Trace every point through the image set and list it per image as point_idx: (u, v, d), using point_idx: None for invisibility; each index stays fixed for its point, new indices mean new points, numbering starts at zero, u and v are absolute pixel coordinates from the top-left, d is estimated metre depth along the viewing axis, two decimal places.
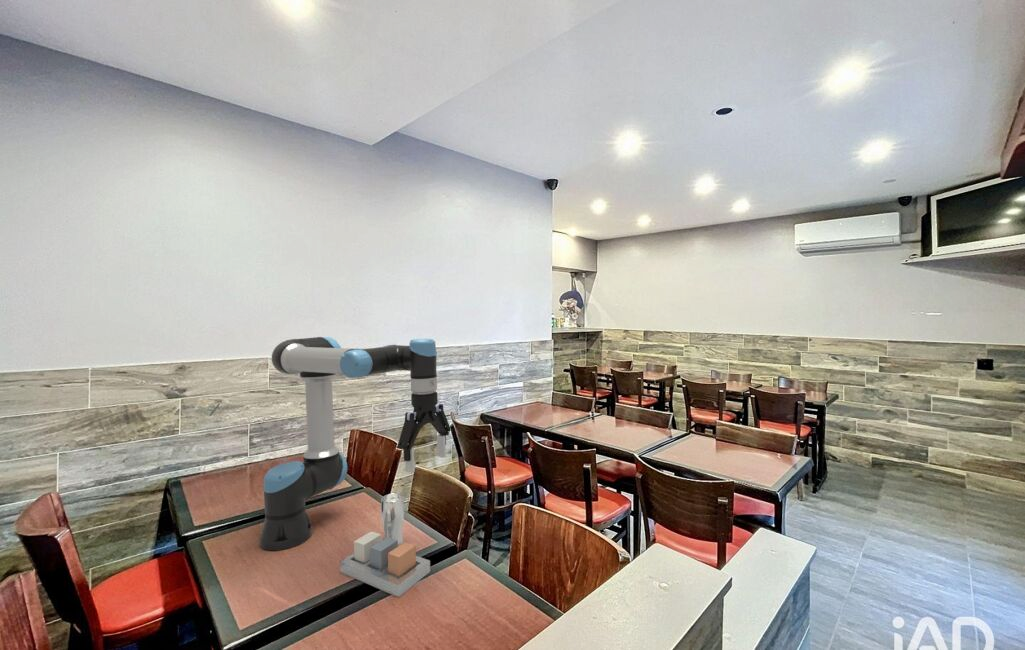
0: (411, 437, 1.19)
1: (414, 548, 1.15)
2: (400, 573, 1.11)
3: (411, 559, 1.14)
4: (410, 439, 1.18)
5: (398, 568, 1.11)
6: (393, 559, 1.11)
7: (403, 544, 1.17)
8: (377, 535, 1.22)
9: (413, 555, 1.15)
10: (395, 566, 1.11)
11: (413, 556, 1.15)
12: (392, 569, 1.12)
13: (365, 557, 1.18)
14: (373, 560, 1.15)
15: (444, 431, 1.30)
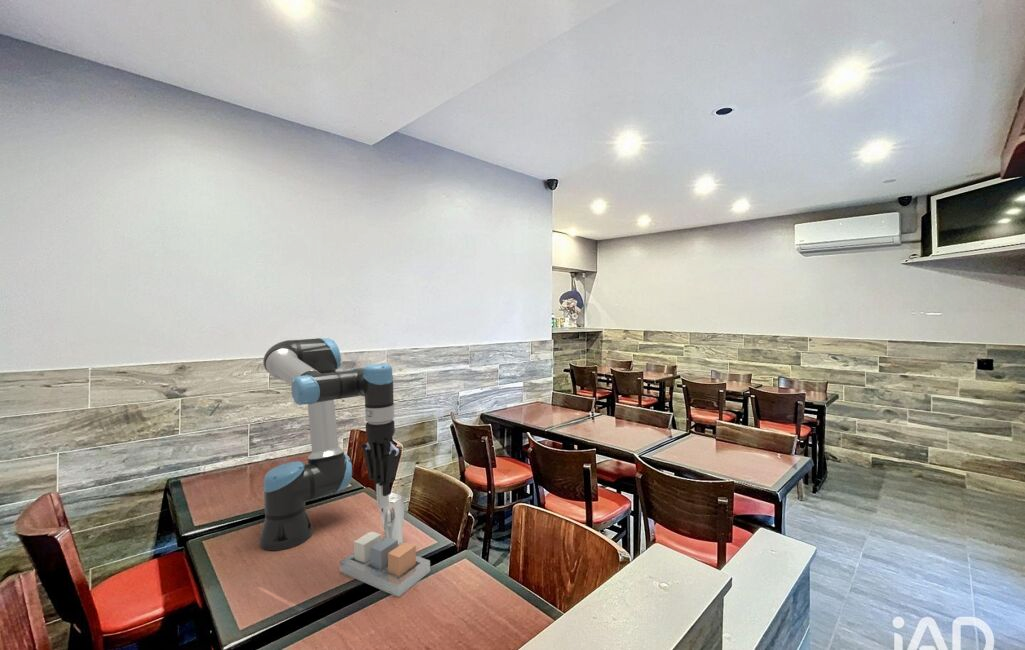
0: None
1: (414, 548, 1.15)
2: (400, 573, 1.11)
3: (411, 559, 1.14)
4: None
5: (398, 568, 1.11)
6: (393, 559, 1.11)
7: (403, 544, 1.17)
8: (377, 535, 1.22)
9: (413, 555, 1.15)
10: (395, 566, 1.11)
11: (413, 556, 1.15)
12: (392, 569, 1.12)
13: (365, 557, 1.18)
14: (373, 560, 1.15)
15: (382, 479, 1.15)
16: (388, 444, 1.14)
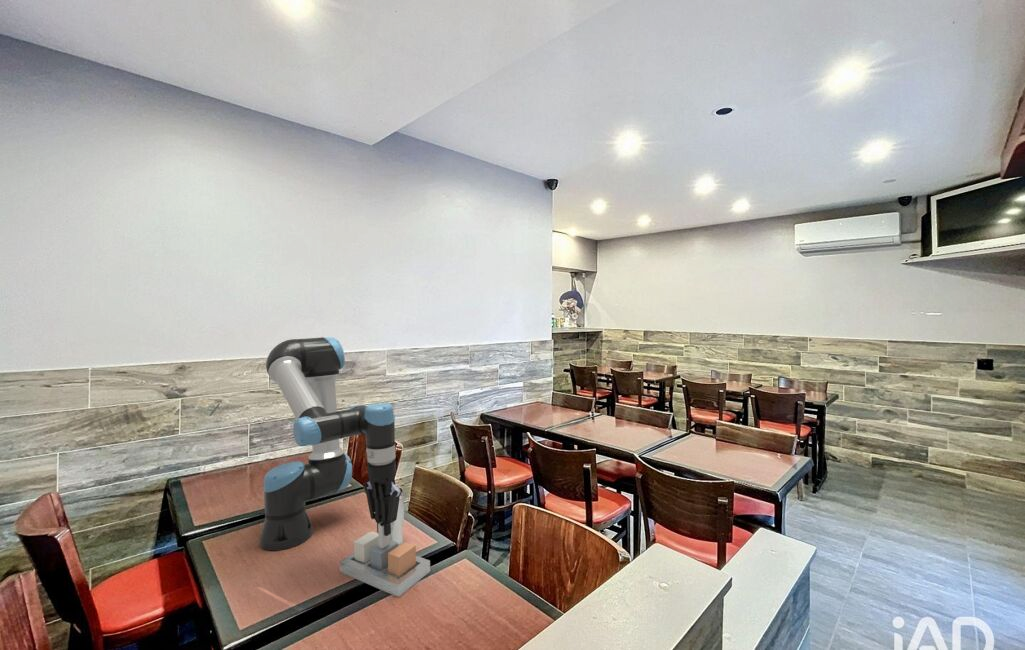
0: None
1: (414, 548, 1.15)
2: (400, 573, 1.11)
3: (411, 559, 1.14)
4: None
5: (398, 568, 1.11)
6: (393, 559, 1.11)
7: (403, 544, 1.17)
8: (377, 535, 1.22)
9: (413, 555, 1.15)
10: (395, 566, 1.11)
11: (413, 556, 1.15)
12: (392, 569, 1.12)
13: (365, 557, 1.18)
14: (373, 562, 1.15)
15: (383, 519, 1.15)
16: (389, 485, 1.14)
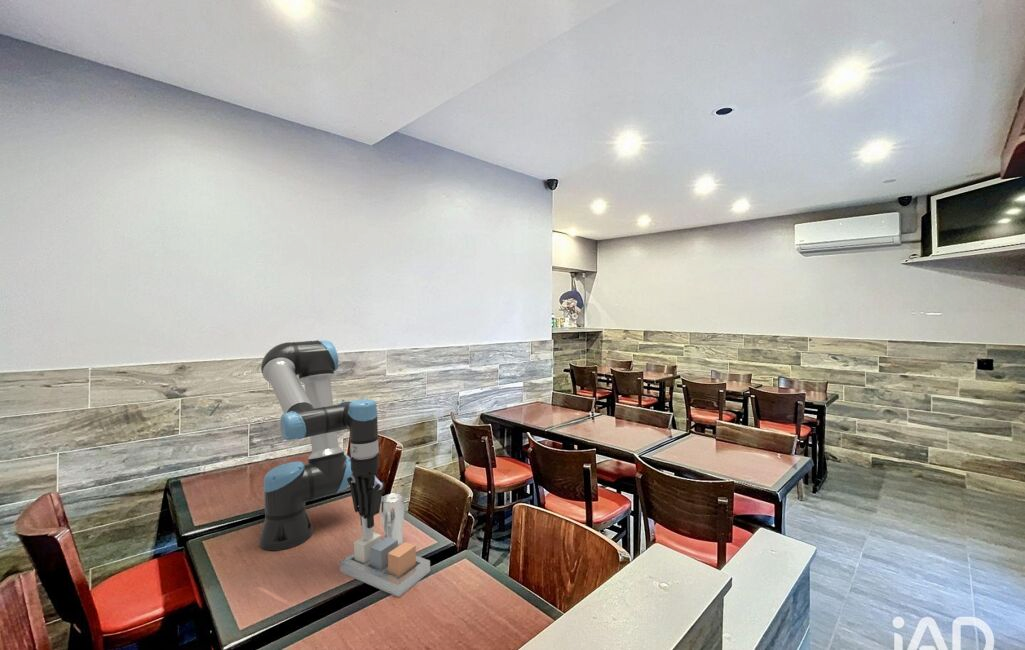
0: None
1: (414, 548, 1.15)
2: (400, 573, 1.11)
3: (411, 559, 1.14)
4: None
5: (398, 568, 1.11)
6: (393, 559, 1.11)
7: (403, 544, 1.17)
8: (377, 536, 1.22)
9: (413, 555, 1.15)
10: (395, 566, 1.11)
11: (413, 556, 1.15)
12: (392, 569, 1.12)
13: (365, 558, 1.18)
14: (373, 560, 1.15)
15: (366, 512, 1.19)
16: (372, 478, 1.17)
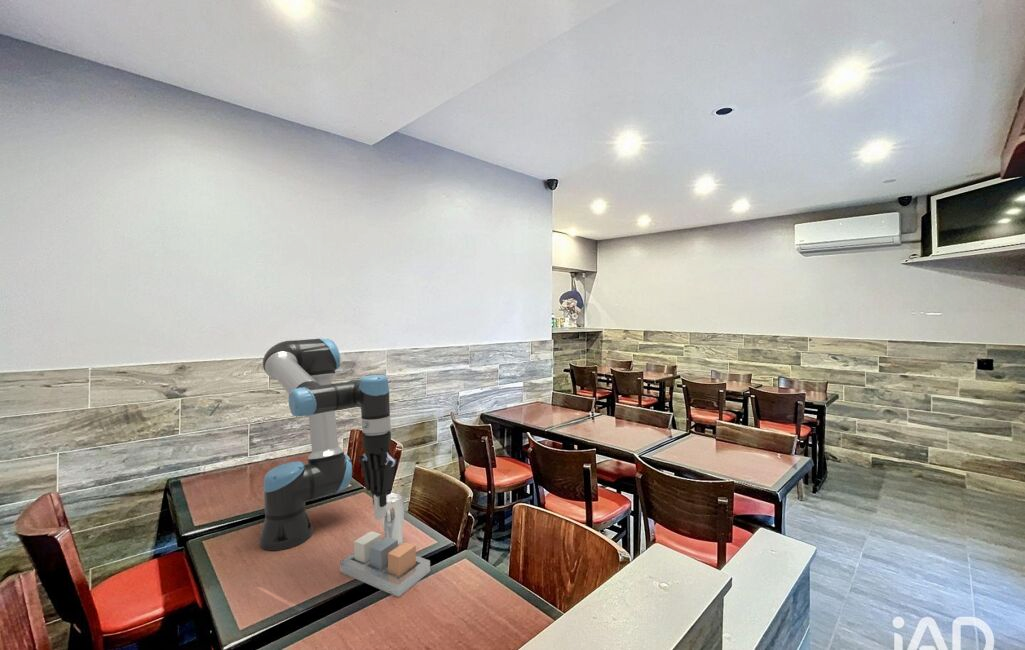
0: None
1: (414, 548, 1.15)
2: (400, 573, 1.11)
3: (411, 559, 1.14)
4: None
5: (398, 568, 1.11)
6: (393, 559, 1.11)
7: (403, 544, 1.17)
8: (377, 535, 1.22)
9: (413, 555, 1.15)
10: (395, 566, 1.11)
11: (413, 556, 1.15)
12: (392, 569, 1.12)
13: (365, 557, 1.18)
14: (373, 560, 1.15)
15: (378, 490, 1.16)
16: (384, 455, 1.14)
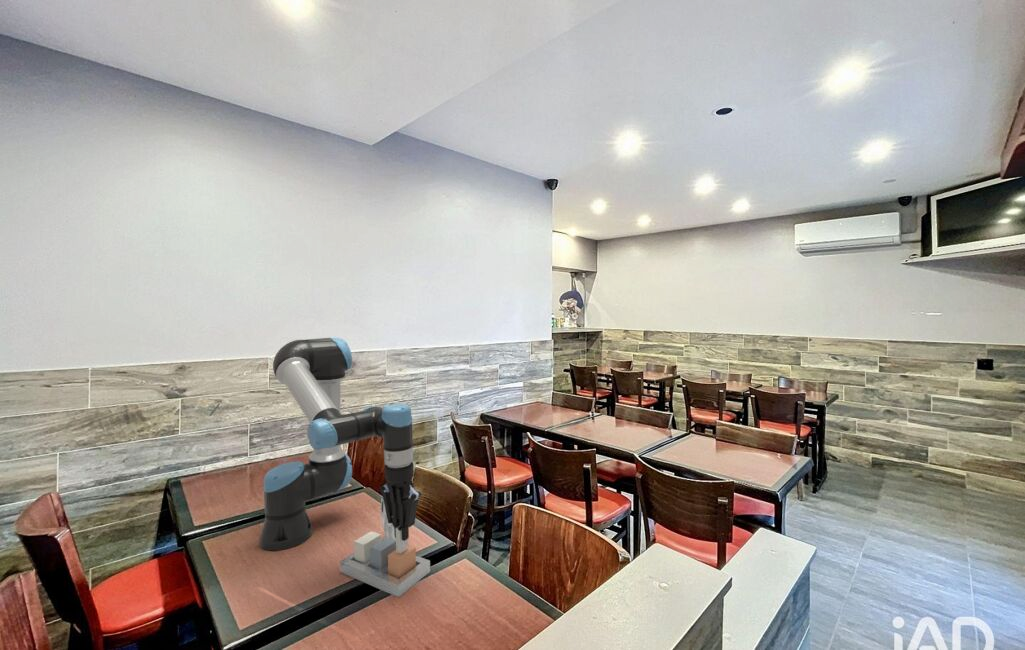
0: None
1: (414, 550, 1.15)
2: (400, 575, 1.11)
3: (411, 561, 1.14)
4: None
5: (398, 570, 1.11)
6: (393, 561, 1.11)
7: None
8: (377, 535, 1.22)
9: (413, 557, 1.15)
10: (395, 567, 1.11)
11: (413, 558, 1.15)
12: (392, 571, 1.12)
13: (365, 557, 1.18)
14: (373, 560, 1.15)
15: (401, 523, 1.12)
16: (408, 488, 1.11)
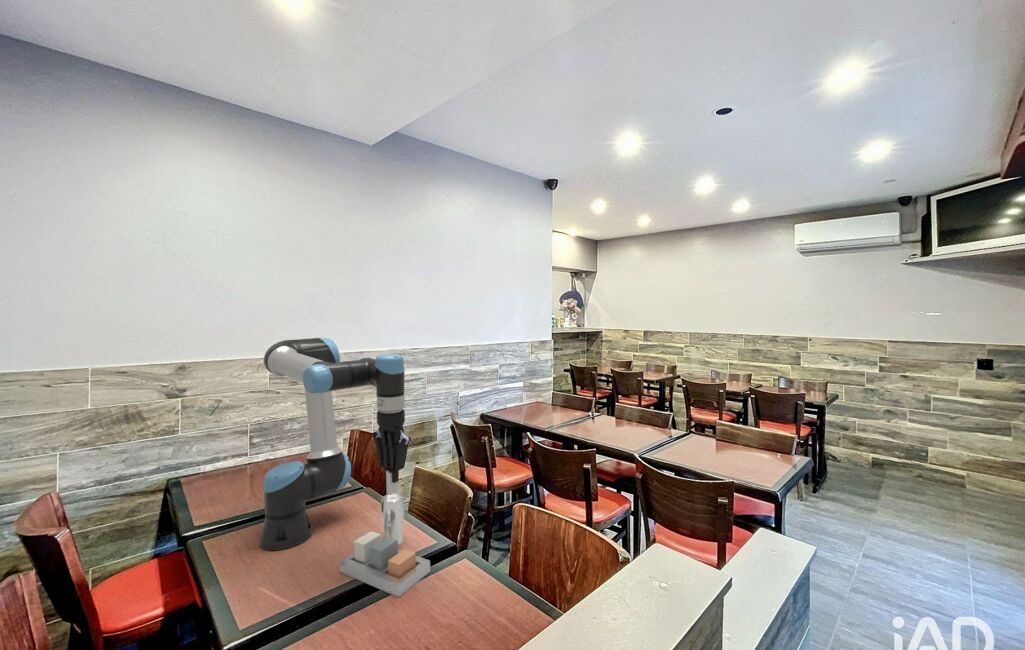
0: None
1: (414, 555, 1.15)
2: None
3: (411, 566, 1.14)
4: None
5: (398, 575, 1.11)
6: (393, 567, 1.11)
7: (403, 551, 1.17)
8: (377, 535, 1.22)
9: (413, 562, 1.15)
10: (395, 573, 1.11)
11: (413, 563, 1.15)
12: None
13: (365, 557, 1.18)
14: (373, 560, 1.15)
15: (391, 466, 1.18)
16: (398, 433, 1.16)
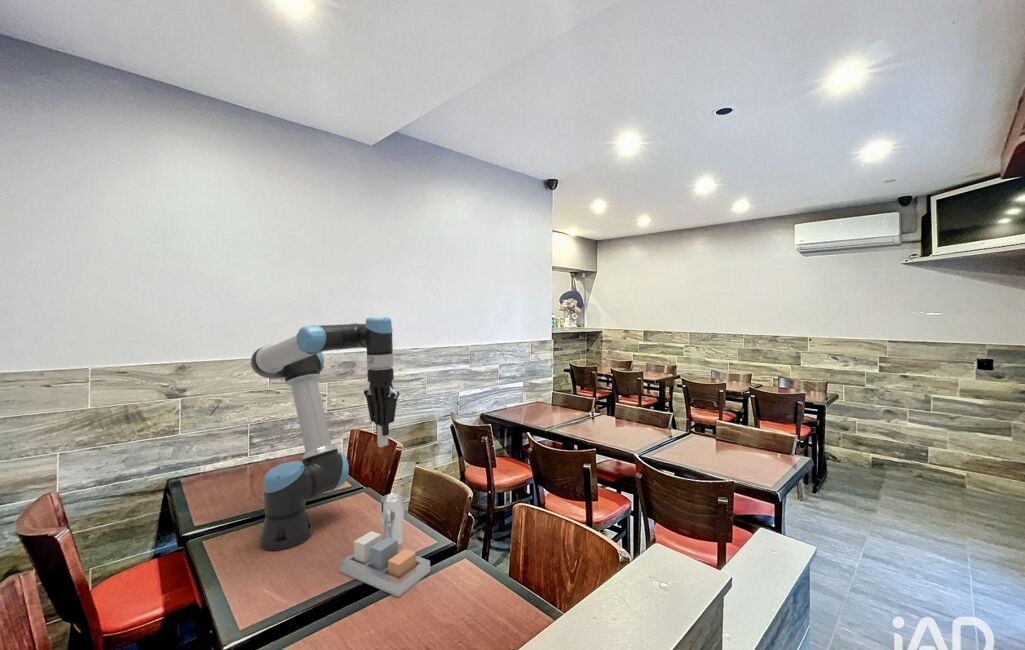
0: None
1: (414, 555, 1.15)
2: None
3: (411, 566, 1.14)
4: None
5: (398, 575, 1.11)
6: (393, 567, 1.11)
7: (403, 551, 1.17)
8: (377, 535, 1.22)
9: (413, 562, 1.15)
10: (395, 573, 1.11)
11: (413, 563, 1.15)
12: None
13: (365, 557, 1.18)
14: (373, 560, 1.15)
15: (382, 420, 1.27)
16: (388, 388, 1.26)
